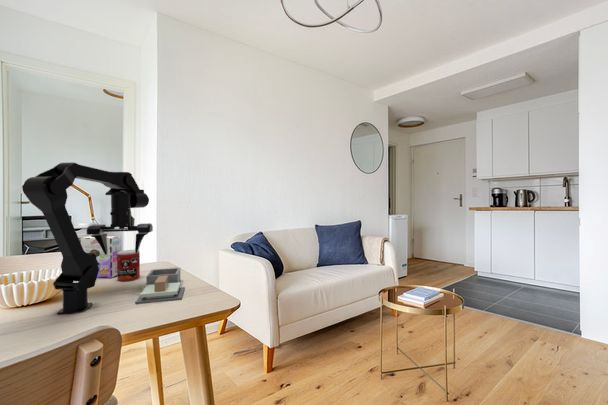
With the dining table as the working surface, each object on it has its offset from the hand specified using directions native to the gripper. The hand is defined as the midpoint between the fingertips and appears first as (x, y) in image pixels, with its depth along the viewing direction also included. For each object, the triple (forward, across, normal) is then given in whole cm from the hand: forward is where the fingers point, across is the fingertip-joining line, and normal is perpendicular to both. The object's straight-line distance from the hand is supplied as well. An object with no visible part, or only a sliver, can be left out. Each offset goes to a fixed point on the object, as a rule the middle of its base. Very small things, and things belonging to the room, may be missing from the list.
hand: (121, 253), depth 102 cm
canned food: (+13, +2, -17) cm, 22 cm away
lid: (+12, -14, +10) cm, 21 cm away
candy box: (+13, +14, -25) cm, 32 cm away
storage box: (+13, -13, -3) cm, 19 cm away
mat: (+13, -14, +10) cm, 21 cm away
